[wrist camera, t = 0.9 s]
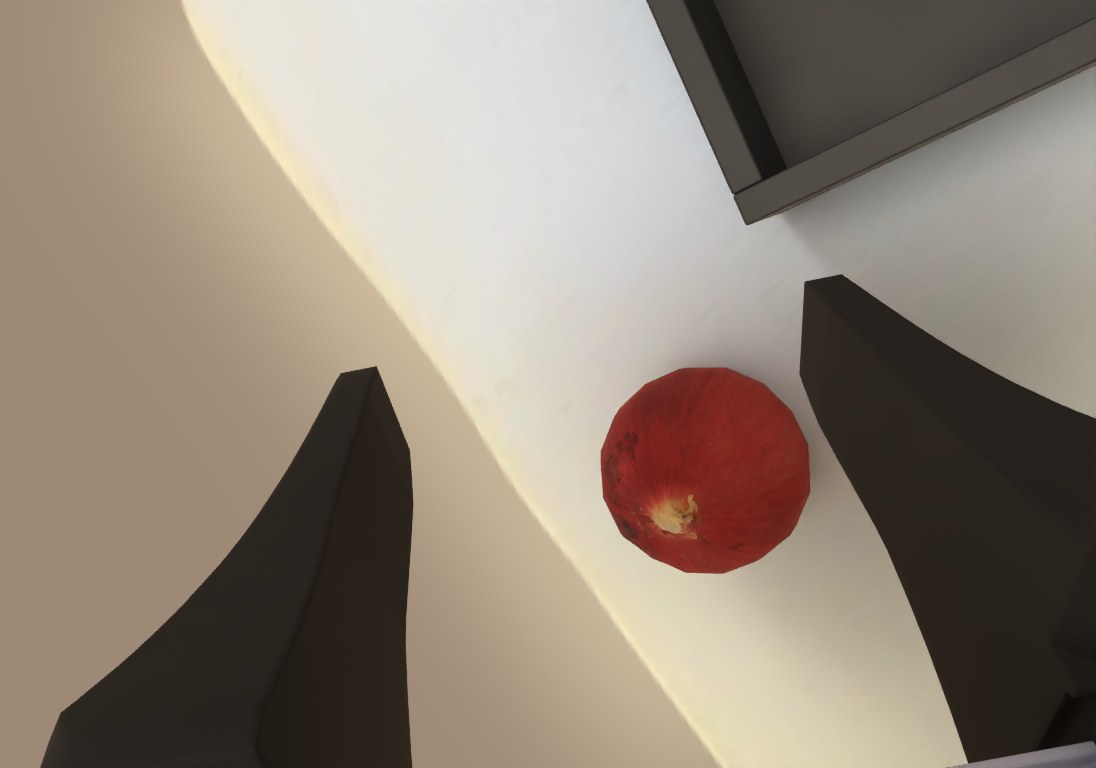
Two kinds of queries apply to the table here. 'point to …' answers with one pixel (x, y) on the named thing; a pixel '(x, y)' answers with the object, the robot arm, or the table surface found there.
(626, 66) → the table surface
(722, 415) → the onion
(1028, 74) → the open storage bin
